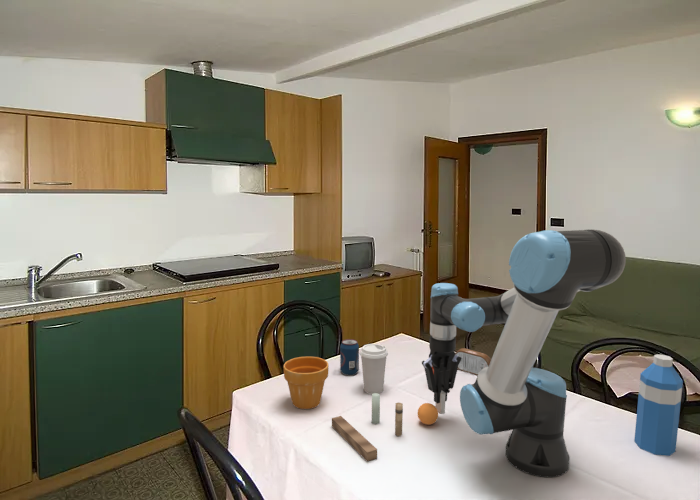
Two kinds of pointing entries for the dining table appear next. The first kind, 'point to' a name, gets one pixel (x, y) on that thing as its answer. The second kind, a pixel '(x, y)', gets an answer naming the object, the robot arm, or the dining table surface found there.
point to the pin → (398, 419)
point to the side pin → (375, 408)
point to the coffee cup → (373, 367)
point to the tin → (472, 361)
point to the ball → (427, 413)
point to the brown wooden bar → (354, 438)
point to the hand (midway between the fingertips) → (440, 411)
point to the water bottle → (658, 407)
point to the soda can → (349, 357)
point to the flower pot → (306, 380)
